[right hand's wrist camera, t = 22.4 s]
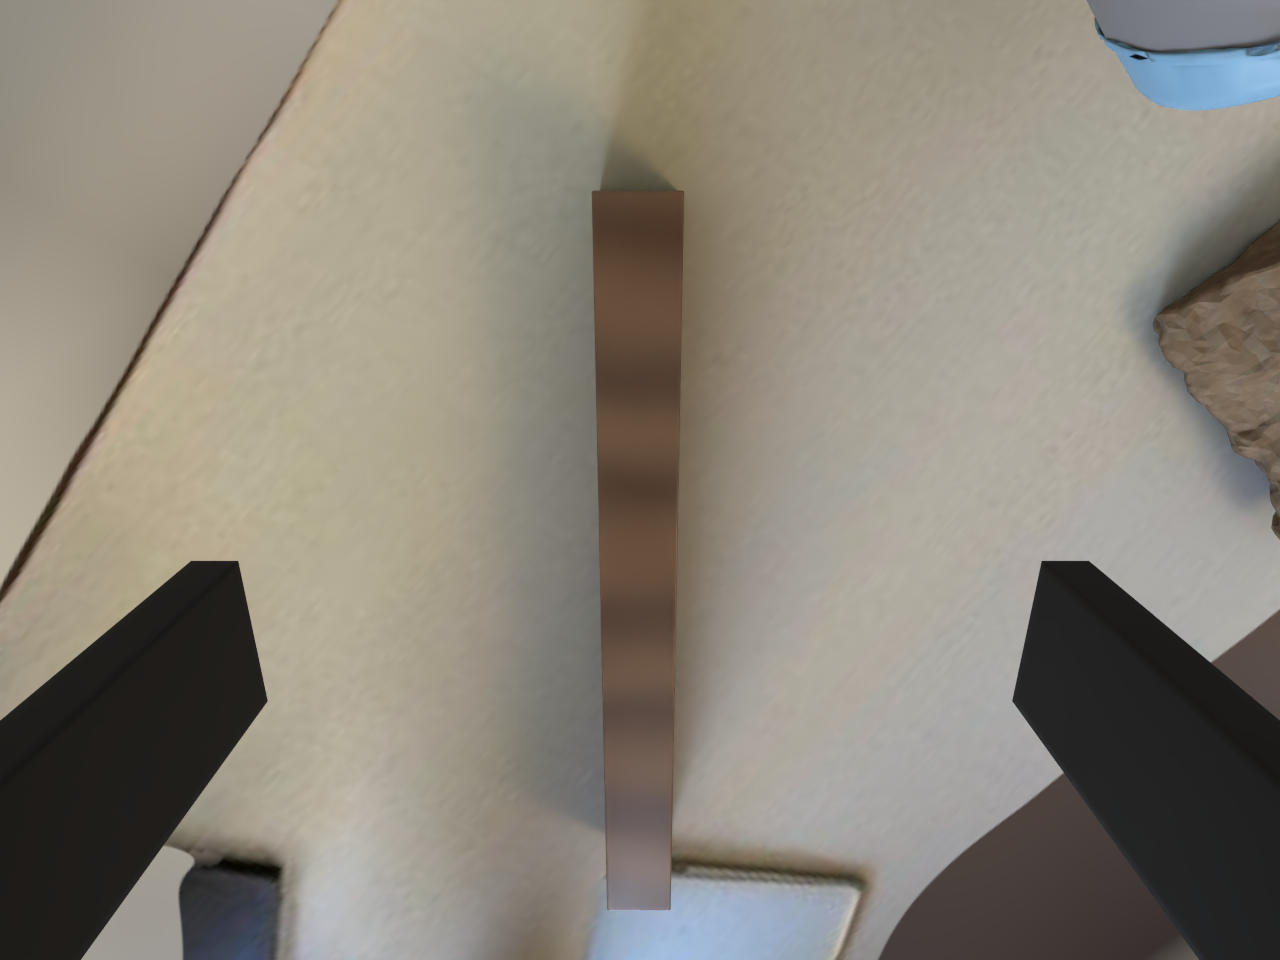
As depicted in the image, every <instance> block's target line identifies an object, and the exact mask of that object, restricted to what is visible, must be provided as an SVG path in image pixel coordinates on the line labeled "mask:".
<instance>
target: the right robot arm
mask: <svg viewBox="0 0 1280 960" xmlns="http://www.w3.org/2000/svg"><path fill="white" fill-rule="evenodd" d="M1087 2H1088V4H1089V6H1090V8H1091V10H1092V12H1093V14H1094V16H1095V27H1096V29H1097V32H1098V35H1099V37H1100V39H1103V40H1104V41H1105V44H1106V46H1107V47H1108V48H1110V49H1111V50H1113V51H1114V52H1115V53H1116V54H1117V56H1118V58H1119V59H1120V61H1121V63H1122V65H1123V66H1124V68H1125V70H1126V72H1127V73H1128V75H1129V77H1130V78H1131V80H1132V82H1133V84H1134V85H1135V87H1136V88H1137V89H1138V91H1139V92H1141V93H1142V94H1143V95H1144V96H1145V97H1147V98H1148V99H1149V100H1150V101H1153V102H1155V103H1156V104H1158V105H1161V106H1164V107H1169V108H1173V109H1179V110H1213V109H1220V108H1227V107H1233V106H1239V105H1243V104H1248V103H1253V102H1257V101H1262V100H1265V99H1269V98H1273V97H1276V96H1280V0H1087ZM266 703H267V696H266V691H265V686H264V682H263V677H262V672H261V667H260V663H259V658H258V653H257V648H256V644H255V639H254V634H253V629H252V625H251V620H250V615H249V610H248V606H247V601H246V596H245V591H244V587H243V582H242V577H241V572H240V568H239V563H238V561H191V562H189V563H188V564H187V565H186V566H185V567H183V568H182V569H181V570H180V571H179V572H178V573H176V574H175V575H174V576H173V577H172V578H170V579H169V580H168V581H167V582H166V583H164V584H163V585H162V586H161V587H160V588H158V589H157V590H156V591H155V592H154V593H152V594H151V595H150V596H149V597H148V598H146V599H145V600H144V601H143V602H142V603H140V604H139V605H138V606H137V607H136V608H134V609H133V610H132V611H131V612H130V613H128V614H127V615H126V616H125V617H124V618H122V619H121V620H120V621H119V622H118V623H116V624H115V625H114V626H113V627H112V628H111V629H109V630H108V631H107V632H106V633H105V634H103V635H102V636H101V637H100V638H99V639H97V640H96V641H95V642H94V643H93V644H91V645H90V646H89V647H88V648H87V649H85V650H84V651H83V652H82V653H81V654H79V655H78V656H77V657H76V658H75V659H73V660H72V661H71V662H70V663H69V664H67V665H66V666H65V667H64V668H63V669H61V670H60V671H59V672H58V673H57V674H55V675H54V676H53V677H52V678H51V679H50V680H48V681H47V682H46V683H45V684H44V685H42V686H41V687H40V688H39V689H38V690H36V691H35V692H34V693H33V694H32V695H30V696H29V697H28V698H27V699H26V700H24V701H23V702H22V703H21V704H20V705H18V706H17V707H16V708H15V709H14V710H12V711H11V712H10V713H9V714H8V715H6V716H5V717H4V718H3V719H2V720H0V960H81V959H82V957H83V956H84V954H85V953H86V952H87V950H88V949H89V948H90V946H91V945H92V943H93V942H94V941H95V939H96V938H97V936H98V935H99V934H100V932H101V931H102V930H103V928H104V927H105V925H106V924H107V923H108V921H109V920H110V918H111V917H112V916H113V914H114V913H115V912H116V910H117V909H118V907H119V906H120V905H121V903H122V902H123V900H124V899H125V898H126V896H127V895H128V894H129V892H130V891H131V889H132V888H133V887H134V885H135V884H136V883H137V881H138V880H139V878H140V877H141V876H142V874H143V873H144V871H145V870H146V869H147V867H148V866H149V865H150V863H151V862H152V860H153V859H154V858H155V856H156V855H157V853H158V852H159V851H160V849H161V848H162V847H163V845H164V844H165V842H166V841H167V840H168V838H169V837H170V835H171V834H172V833H173V831H174V830H175V829H176V827H177V826H178V824H179V823H180V822H181V820H182V819H183V817H184V816H185V815H186V813H187V812H188V811H189V809H190V808H191V806H192V805H193V804H194V802H195V801H196V800H197V798H198V797H199V795H200V794H201V793H202V791H203V790H204V788H205V787H206V786H207V784H208V783H209V782H210V780H211V779H212V777H213V776H214V775H215V773H216V772H217V770H218V769H219V768H220V766H221V765H222V764H223V762H224V761H225V759H226V758H227V757H228V755H229V754H230V752H231V751H232V750H233V748H234V747H235V746H236V744H237V743H238V741H239V740H240V739H241V737H242V736H243V734H244V733H245V732H246V730H247V729H248V728H249V726H250V725H251V723H252V722H253V721H254V719H255V718H256V716H257V715H258V714H259V712H260V711H261V710H262V708H263V707H264V705H265V704H266ZM1013 703H1014V704H1015V705H1016V707H1017V708H1018V710H1019V711H1020V712H1021V714H1022V715H1023V716H1024V718H1025V719H1026V721H1027V722H1028V723H1029V725H1030V726H1031V728H1032V729H1033V730H1034V732H1035V733H1036V734H1037V736H1038V737H1039V739H1040V740H1041V741H1042V743H1043V744H1044V746H1045V747H1046V748H1047V750H1048V751H1049V752H1050V754H1051V755H1052V757H1053V758H1054V759H1055V761H1056V762H1057V764H1058V765H1059V766H1060V768H1061V769H1062V770H1063V772H1064V773H1065V775H1066V776H1067V777H1068V779H1069V780H1070V782H1071V783H1072V784H1073V786H1074V787H1075V788H1076V790H1077V791H1078V793H1079V794H1080V795H1081V797H1082V798H1083V799H1084V801H1085V802H1086V804H1087V805H1088V806H1089V808H1090V809H1091V811H1092V812H1093V813H1094V815H1095V816H1096V817H1097V819H1098V820H1099V822H1100V823H1101V824H1102V826H1103V827H1104V829H1105V830H1106V831H1107V833H1108V834H1109V835H1110V837H1111V838H1112V840H1113V841H1114V842H1115V844H1116V845H1117V847H1118V848H1119V849H1120V851H1121V852H1122V853H1123V855H1124V856H1125V858H1126V859H1127V860H1128V862H1129V863H1130V864H1131V866H1132V867H1133V869H1134V870H1135V871H1136V873H1137V874H1138V875H1139V877H1140V878H1141V880H1142V881H1143V882H1144V884H1145V885H1146V887H1147V888H1148V889H1149V891H1150V892H1151V893H1152V895H1153V896H1154V898H1155V899H1156V901H1157V902H1158V903H1159V905H1160V906H1161V907H1162V909H1163V910H1164V912H1165V913H1166V914H1167V916H1168V917H1169V918H1170V920H1171V921H1172V923H1173V924H1174V925H1175V927H1176V928H1177V929H1178V931H1179V932H1180V934H1181V935H1182V936H1183V938H1184V939H1185V941H1186V942H1187V943H1188V945H1189V946H1190V948H1191V949H1192V950H1193V952H1194V953H1195V954H1196V956H1197V957H1198V958H1199V960H1280V720H1278V719H1277V718H1276V717H1275V716H1274V715H1272V714H1271V713H1270V712H1269V711H1268V710H1266V709H1265V708H1264V707H1263V706H1262V705H1260V704H1259V703H1258V702H1257V701H1256V700H1254V699H1253V698H1252V697H1251V696H1250V695H1248V694H1247V693H1246V692H1245V691H1244V690H1242V689H1241V688H1240V687H1239V686H1238V685H1236V684H1235V683H1234V682H1233V681H1232V680H1230V679H1229V678H1228V677H1227V676H1226V675H1225V674H1223V673H1222V672H1221V671H1220V670H1218V669H1217V668H1216V667H1215V666H1214V665H1213V664H1211V663H1210V662H1209V661H1208V660H1207V659H1205V658H1204V657H1203V656H1202V655H1201V654H1199V653H1198V652H1197V651H1196V650H1195V649H1193V648H1192V647H1191V646H1190V645H1189V644H1187V643H1186V642H1185V641H1184V640H1183V639H1181V638H1180V637H1179V636H1178V635H1177V634H1175V633H1174V632H1173V631H1172V630H1171V629H1169V628H1168V627H1167V626H1166V625H1165V624H1164V623H1162V622H1161V621H1160V620H1159V619H1158V618H1156V617H1155V616H1154V615H1153V614H1152V613H1150V612H1149V611H1148V610H1147V609H1146V608H1144V607H1143V606H1142V605H1141V604H1140V603H1138V602H1137V601H1136V600H1135V599H1134V598H1132V597H1131V596H1130V595H1129V594H1128V593H1126V592H1125V591H1124V590H1123V589H1122V588H1120V587H1119V586H1118V585H1117V584H1116V583H1114V582H1113V581H1112V580H1111V579H1110V578H1108V577H1107V576H1106V575H1105V574H1104V573H1102V572H1101V571H1100V570H1099V569H1098V568H1097V567H1095V566H1094V565H1093V564H1092V563H1091V562H1089V561H1042V563H1041V568H1040V572H1039V577H1038V582H1037V587H1036V591H1035V596H1034V601H1033V606H1032V610H1031V615H1030V620H1029V625H1028V629H1027V634H1026V639H1025V644H1024V648H1023V653H1022V658H1021V663H1020V667H1019V672H1018V677H1017V682H1016V686H1015V691H1014V696H1013Z"/></svg>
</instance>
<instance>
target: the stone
mask: <svg viewBox="0 0 1280 960" xmlns="http://www.w3.org/2000/svg"><path fill="white" fill-rule="evenodd" d="M1153 326H1154V330H1155V331H1156V332H1157V333H1158V334H1159V345H1160V347H1161V349H1162V351H1163V355H1164V356H1165V358H1166V359H1167V360H1168V361H1169V362H1170V363H1171V364H1172V366H1173V367H1175V368H1178V369H1180V370H1182V371H1183V372H1184V380H1185V383H1186V385H1187V391H1188V392H1189V393H1190V394H1191V395H1192V396H1193V397H1194V399H1196V400H1197V401H1198V402H1200V403H1201V404H1203V405H1204V406H1205V407H1206V408H1207V409H1208V411H1209V412H1210V413H1211V414H1212V415H1213V416H1214V417H1215V418H1216V419H1218V421H1219V422H1220V423H1222V424H1223V425H1224V427H1225V428H1226V430H1227V434H1228V436H1229V439H1230V441H1231V446H1232V448H1233V450H1234V452H1236V453H1238V454H1240V455H1242V456H1245V457H1247V458H1250V459H1253V460H1255V462H1256V464H1257V465H1258V466H1259V467H1260V469H1261V470H1262V471H1263V472H1264V473H1265V474H1266V476H1267V478H1268V480H1269V483H1271V484H1270V488H1269V489H1270V499H1271V503H1272V505H1273V507H1274V508H1275V510H1276V512H1275V514H1274V516H1273V520H1272V530H1273V532H1274V533H1275V535H1276V536H1277V537H1278V538H1279V539H1280V223H1278V224H1276V225H1275V226H1274V227H1273V228H1272V229H1270V230H1269V231H1267V232H1266V233H1264V234H1263V235H1261V237H1260V238H1259V239H1258V240H1257V241H1255V242H1254V243H1252V244H1251V245H1250V246H1249V247H1248V248H1247V250H1246V251H1245V252H1244V253H1243V254H1242V255H1241V256H1240V257H1239V258H1238V259H1237V261H1236V262H1235V263H1234V264H1232V265H1231V266H1229V267H1227V268H1225V269H1223V270H1221V271H1220V272H1218V273H1216V274H1215V275H1214V276H1213V277H1211V278H1210V279H1208V280H1207V281H1205V282H1204V283H1202V284H1201V285H1199V286H1198V287H1196V288H1195V289H1193V290H1192V291H1190V292H1189V293H1188V294H1187V295H1186V296H1185V297H1184V298H1183V299H1180V300H1177V301H1175V302H1174V303H1172V304H1171V305H1169V306H1168V307H1166V308H1164V310H1163V311H1162V312H1161V313H1159V314H1158V315H1157V316H1156V317H1155V320H1154V322H1153Z"/></svg>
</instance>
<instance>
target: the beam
mask: <svg viewBox="0 0 1280 960" xmlns="http://www.w3.org/2000/svg"><path fill="white" fill-rule="evenodd" d="M592 220H593V267H594V313H595V360H596V406H597V453H598V499H599V546H600V593H601V639H602V686H603V732H604V779H605V825H606V872H607V910H670V905H671V852H672V799H673V747H674V694H675V641H676V589H677V536H678V483H679V430H680V378H681V325H682V272H683V220H684V191H679V190H597V191H592Z"/></svg>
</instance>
